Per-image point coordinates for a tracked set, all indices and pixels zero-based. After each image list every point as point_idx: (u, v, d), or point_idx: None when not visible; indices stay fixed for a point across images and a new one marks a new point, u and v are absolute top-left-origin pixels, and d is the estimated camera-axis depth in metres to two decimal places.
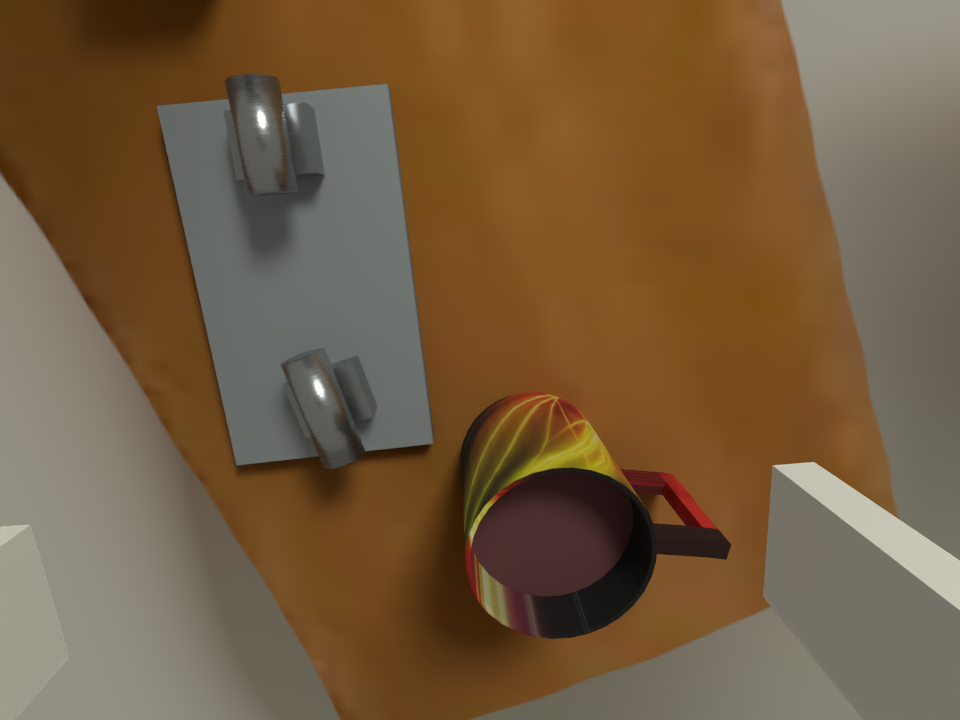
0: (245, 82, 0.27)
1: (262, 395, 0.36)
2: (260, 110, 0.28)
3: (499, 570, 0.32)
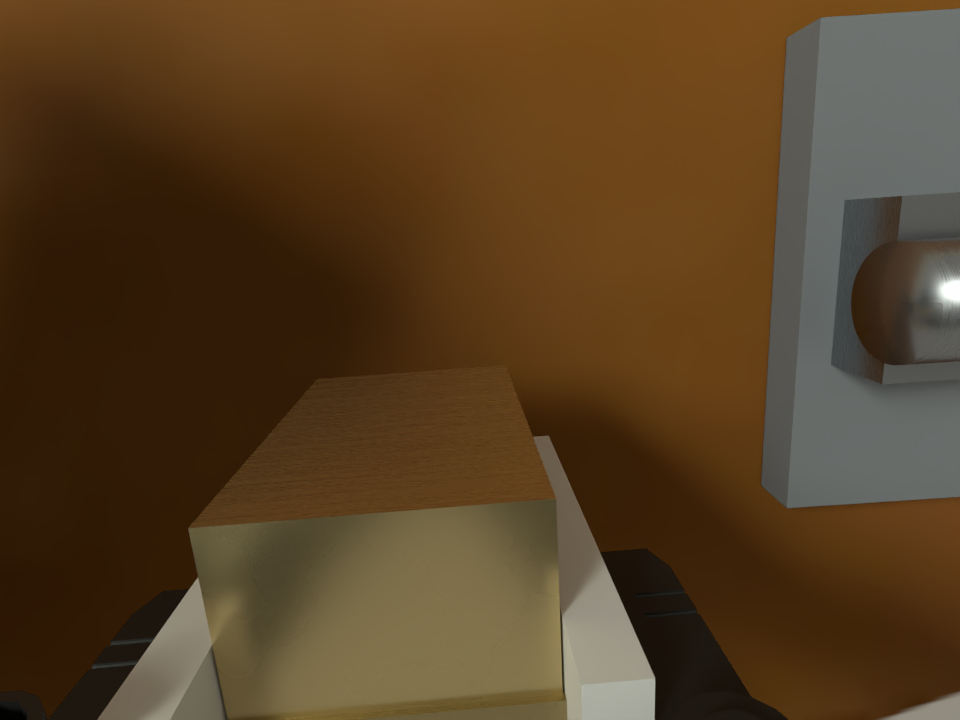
0: None
1: None
2: None
3: None
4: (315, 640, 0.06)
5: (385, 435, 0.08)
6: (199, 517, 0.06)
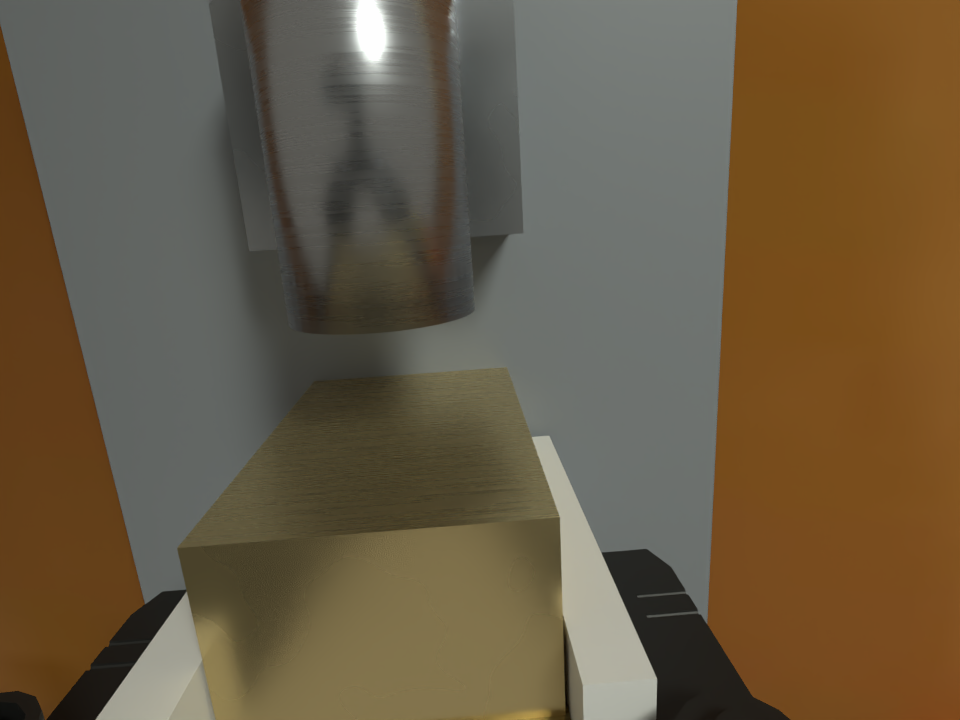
0: None
1: None
2: None
3: None
4: (310, 662, 0.06)
5: (382, 445, 0.08)
6: (188, 535, 0.06)
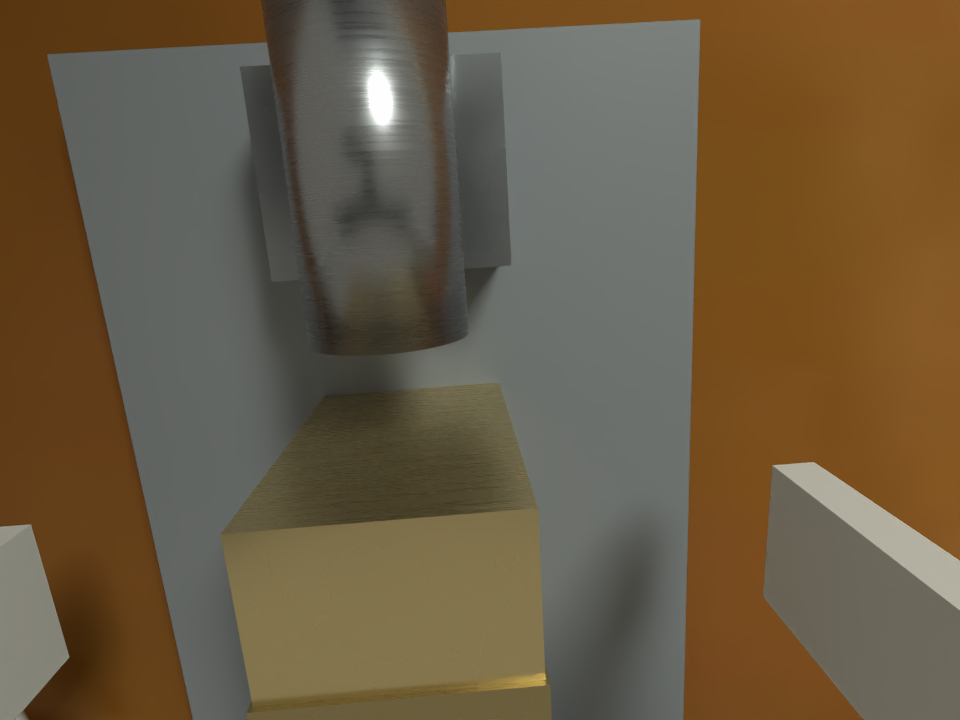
0: None
1: None
2: (386, 61, 0.07)
3: None
4: (329, 632, 0.07)
5: (388, 451, 0.09)
6: (229, 525, 0.07)
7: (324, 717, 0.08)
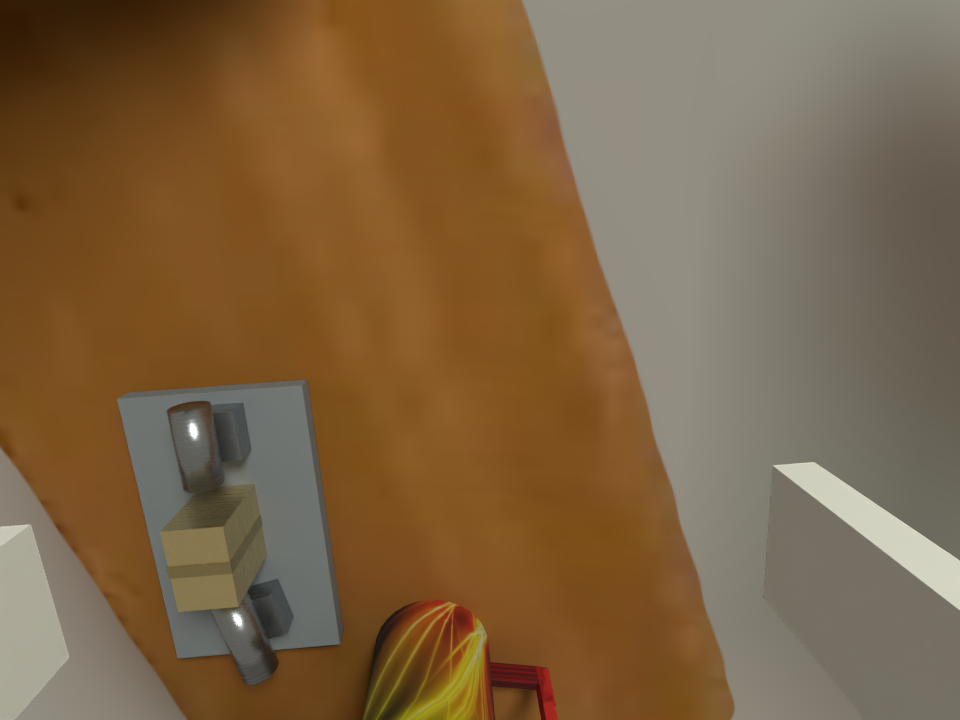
0: (181, 419, 0.36)
1: None
2: (192, 437, 0.36)
3: None
4: (182, 551, 0.36)
5: (204, 511, 0.38)
6: None
7: (182, 569, 0.37)
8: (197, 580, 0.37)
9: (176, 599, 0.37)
